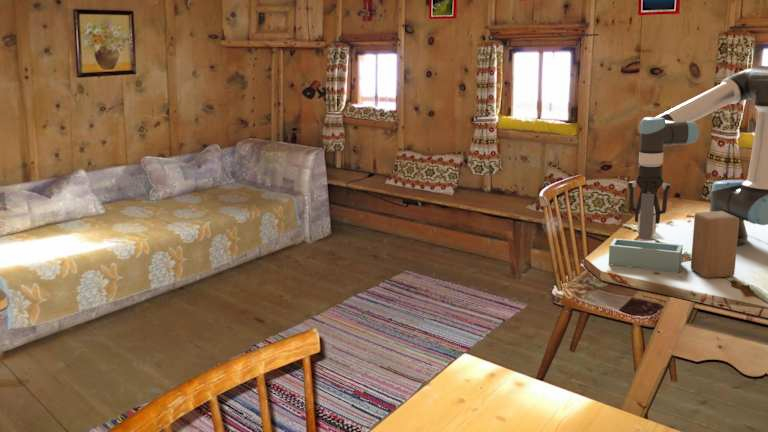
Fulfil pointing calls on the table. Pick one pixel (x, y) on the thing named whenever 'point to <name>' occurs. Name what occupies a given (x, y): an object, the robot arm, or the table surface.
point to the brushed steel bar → (646, 215)
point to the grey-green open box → (646, 255)
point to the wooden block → (714, 244)
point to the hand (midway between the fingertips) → (646, 231)
